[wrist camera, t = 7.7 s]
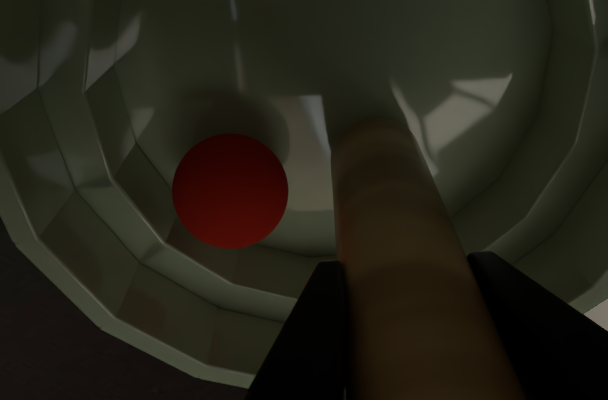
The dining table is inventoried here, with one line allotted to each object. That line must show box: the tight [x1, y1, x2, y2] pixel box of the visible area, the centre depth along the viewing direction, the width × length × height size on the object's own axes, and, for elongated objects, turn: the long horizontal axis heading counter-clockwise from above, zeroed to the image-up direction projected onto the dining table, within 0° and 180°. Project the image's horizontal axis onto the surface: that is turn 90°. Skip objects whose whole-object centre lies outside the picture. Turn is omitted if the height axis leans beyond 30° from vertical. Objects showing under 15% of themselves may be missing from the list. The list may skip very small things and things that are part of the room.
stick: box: [330, 118, 527, 400], centre depth 8 cm, size 2×2×12 cm
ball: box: [172, 133, 289, 249], centre depth 13 cm, size 3×3×3 cm
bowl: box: [0, 0, 608, 389], centre depth 12 cm, size 14×14×5 cm
